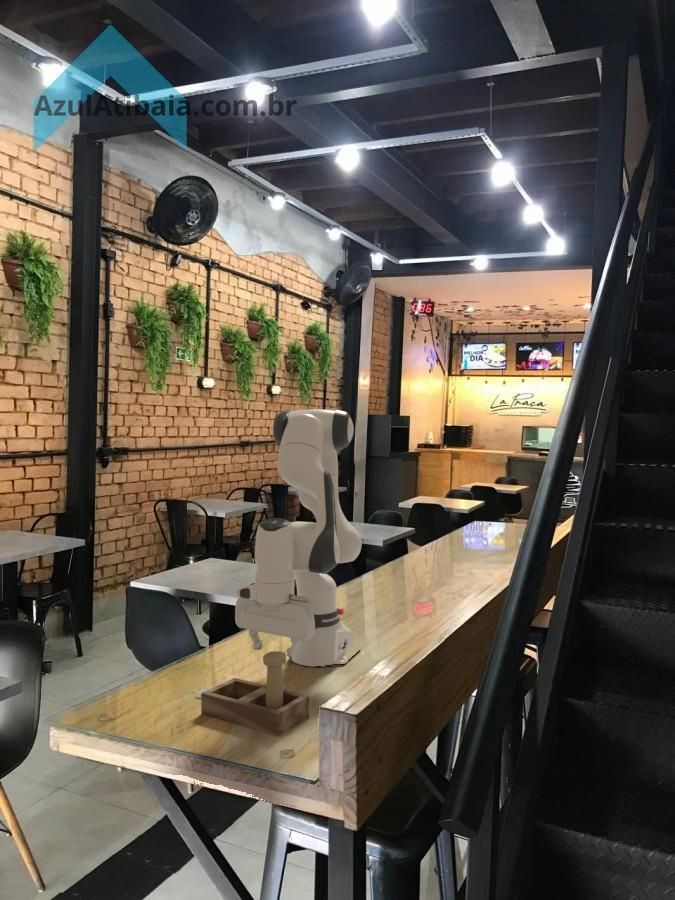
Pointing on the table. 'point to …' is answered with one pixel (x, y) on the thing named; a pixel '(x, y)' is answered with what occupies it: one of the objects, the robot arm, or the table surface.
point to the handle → (274, 679)
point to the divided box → (254, 707)
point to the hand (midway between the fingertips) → (274, 652)
